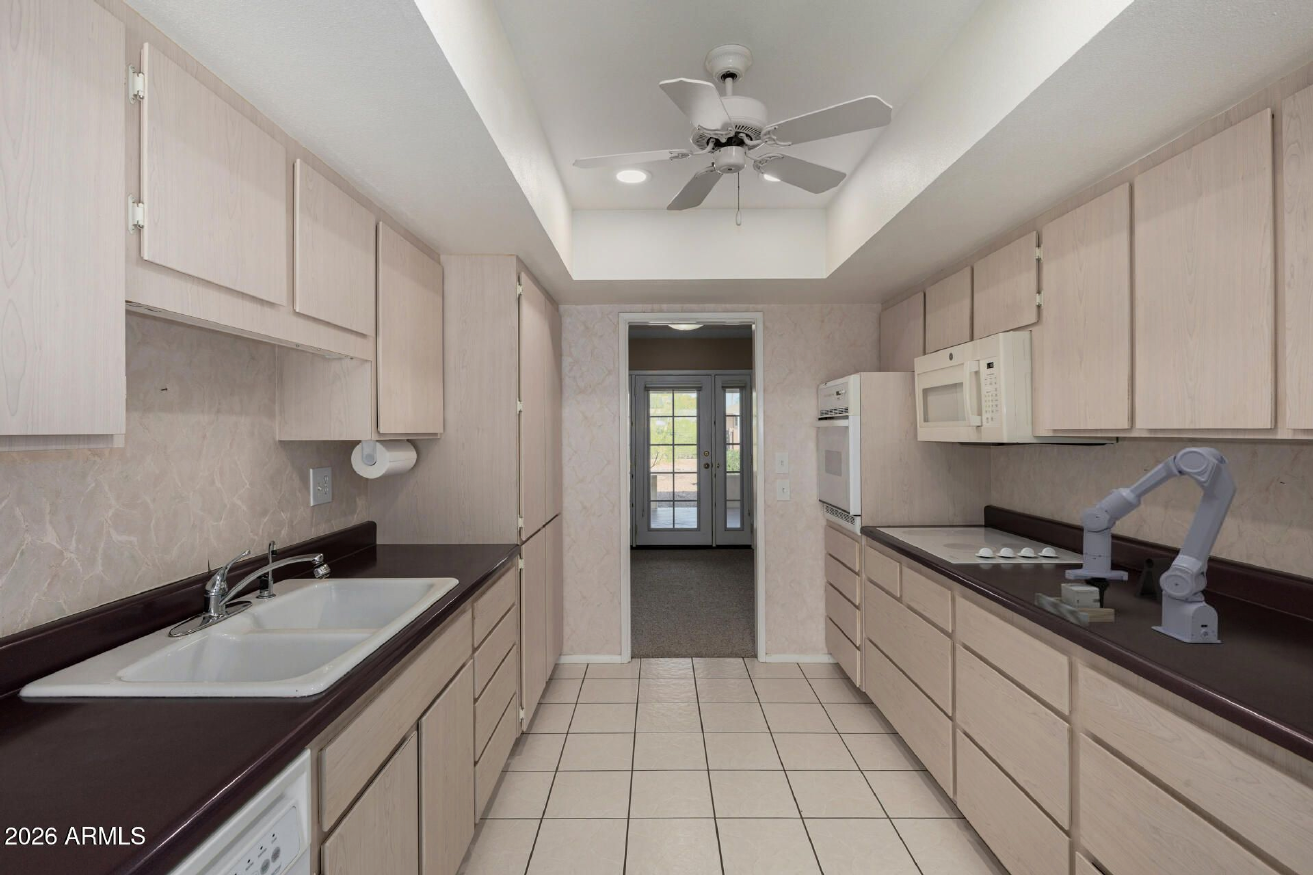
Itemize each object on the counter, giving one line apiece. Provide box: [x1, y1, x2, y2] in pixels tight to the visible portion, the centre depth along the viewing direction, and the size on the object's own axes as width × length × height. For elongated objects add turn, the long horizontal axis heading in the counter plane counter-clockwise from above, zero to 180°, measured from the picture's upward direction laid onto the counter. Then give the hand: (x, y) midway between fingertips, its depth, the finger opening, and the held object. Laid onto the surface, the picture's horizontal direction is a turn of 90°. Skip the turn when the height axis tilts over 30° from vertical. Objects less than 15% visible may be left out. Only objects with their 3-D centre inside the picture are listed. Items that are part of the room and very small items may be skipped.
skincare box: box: [1060, 582, 1100, 608], centre depth 150 cm, size 6×6×7 cm
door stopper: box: [1132, 556, 1174, 605], centre depth 163 cm, size 9×6×12 cm, turn 9°
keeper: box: [1034, 592, 1115, 628], centre depth 150 cm, size 18×11×3 cm, turn 179°
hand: (1095, 606), depth 150 cm, fingers closed, pressing on skincare box
